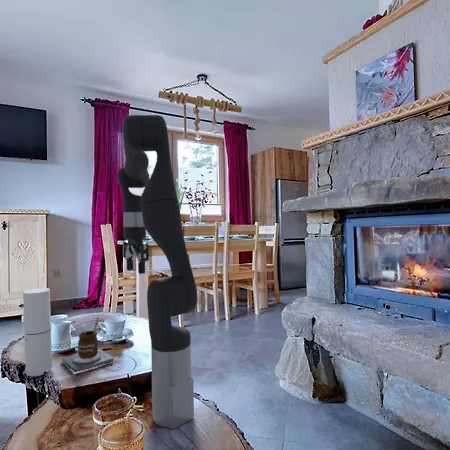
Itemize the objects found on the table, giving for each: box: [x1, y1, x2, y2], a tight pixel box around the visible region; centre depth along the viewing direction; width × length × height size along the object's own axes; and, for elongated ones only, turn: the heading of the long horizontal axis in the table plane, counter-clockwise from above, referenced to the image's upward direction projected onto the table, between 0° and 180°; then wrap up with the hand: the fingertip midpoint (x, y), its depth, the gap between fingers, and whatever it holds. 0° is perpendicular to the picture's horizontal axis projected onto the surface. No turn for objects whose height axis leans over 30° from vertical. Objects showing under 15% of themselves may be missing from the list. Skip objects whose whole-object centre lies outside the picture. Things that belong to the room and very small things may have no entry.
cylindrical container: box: [22, 287, 53, 377], centre depth 103 cm, size 7×7×25 cm
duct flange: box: [61, 346, 115, 372], centre depth 109 cm, size 12×12×3 cm
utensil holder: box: [77, 317, 99, 358], centre depth 108 cm, size 6×6×12 cm
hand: (135, 271), depth 116 cm, fingers open, 8 cm apart
